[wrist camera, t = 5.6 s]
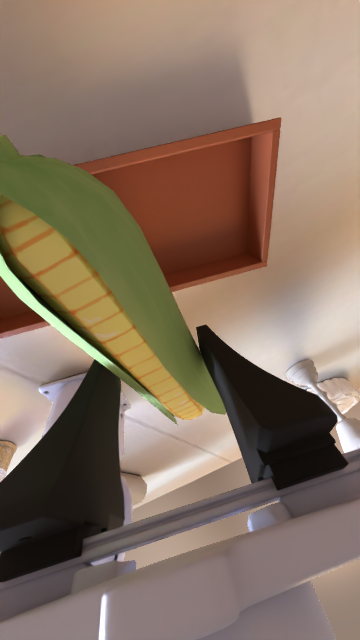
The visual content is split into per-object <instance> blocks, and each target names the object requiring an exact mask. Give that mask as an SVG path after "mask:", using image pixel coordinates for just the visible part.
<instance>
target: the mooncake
mask: <svg viewBox="0 0 360 640" xmlns="http://www.w3.org/2000/svg"><path fill="white" fill-rule="evenodd" d="M317 386H318V388H320V389H321V390H322V391H325V392H327V397H328V398H329V400H330V401H332V402H333V403H336V404H337V407H338V409H339V411H340V412H341V413H342V414H344V413H346V412H347V411H348V410H349V409H350V408H351V407H352V406H353V405H355V404H356V403H358V402H357V401H358V400H359V397H360V392H359V391H358V390H357V389H356V388H355V387H354V386H353V385H352V384H351V383H350V382H349V381H348V380H346V379H344V378H333V379H331V380H329V379H328V380H325V381H323V382H321V383H317ZM307 391H309V392H311V393H314V394H315V392H314V390H313V389H311V388H309V389H307Z"/></svg>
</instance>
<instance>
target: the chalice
mask: <svg viewBox="0 0 360 640" xmlns="http://www.w3.org/2000/svg"><path fill="white" fill-rule="evenodd" d="M286 378H287V379H289V380H292V382H294V383H296V384H297V385H299V386H302V387H306V386H307V387H310V388H311V389H313V390H314V392H315V394H316V395H318V396H319V397H320V398H321V399H322V400H323V401H324V402H325V403H326V404H327V405H328V406H329V407H330V408H331V409H332V410H333V411H334V413H335V414H336V415H337V418H338V421H339V423H338V424H337V426H336V429H337V432H338V435H339V438H340V441H341V444H342V447H343V450H344V452H345V453H347V452H350V451H353V450H356V449H359V448H360V421H359V420H358V419H356V418H346V417H345V416H344V415H343V414H342V413H341V412H340V411H339V409H338V407H337V404H336V403H333V402H332V401H330V400H329V398H328V397H327V392H325V391H322V390H321V389H320V388H318V386H317V384H316V380H317V379H318V373H317V372H316V368H315V367H314V363H313V361H311V360H304V361H301V362H298V363H296V364H295V365H293V366H292V367H291V368H290V369H289V370H288V371H287V373H286Z"/></svg>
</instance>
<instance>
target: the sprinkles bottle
mask: <svg viewBox="0 0 360 640" xmlns="http://www.w3.org/2000/svg"><path fill="white" fill-rule="evenodd" d="M16 449H17V447H16V446H15V445H14V444H13V443H11V442H8V441H0V482H1V481H2V480H3V479H4V478H5V476H6V471H7V469H8V466H9V464H10V461H11V459H12V456H13V454H14V453H15V452H16Z"/></svg>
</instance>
